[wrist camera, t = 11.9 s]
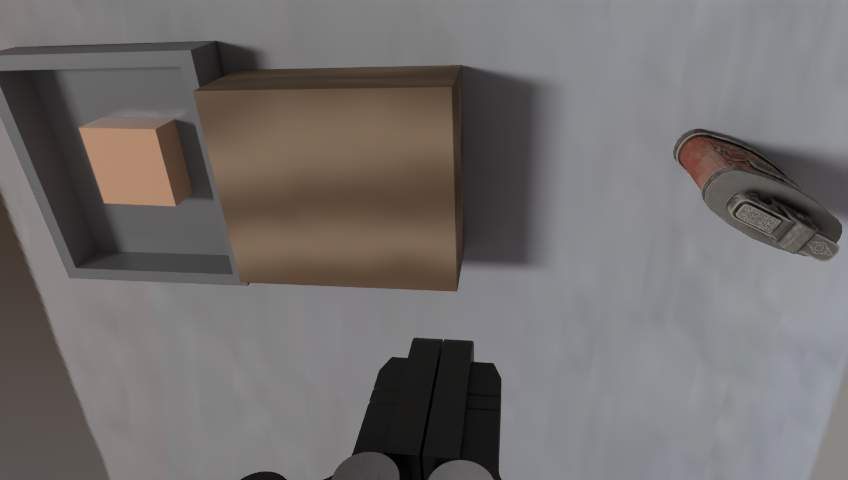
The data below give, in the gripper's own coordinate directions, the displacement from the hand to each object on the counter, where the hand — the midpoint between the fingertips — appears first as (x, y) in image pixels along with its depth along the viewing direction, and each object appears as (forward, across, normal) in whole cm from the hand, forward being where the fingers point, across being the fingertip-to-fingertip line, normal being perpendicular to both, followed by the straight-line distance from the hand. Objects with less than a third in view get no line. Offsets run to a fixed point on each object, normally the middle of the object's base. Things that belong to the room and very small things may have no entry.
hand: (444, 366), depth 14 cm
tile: (+24, +26, +4) cm, 36 cm away
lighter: (+27, -16, +5) cm, 32 cm away
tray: (+27, +27, +5) cm, 39 cm away
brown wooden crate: (+27, +10, +5) cm, 29 cm away
